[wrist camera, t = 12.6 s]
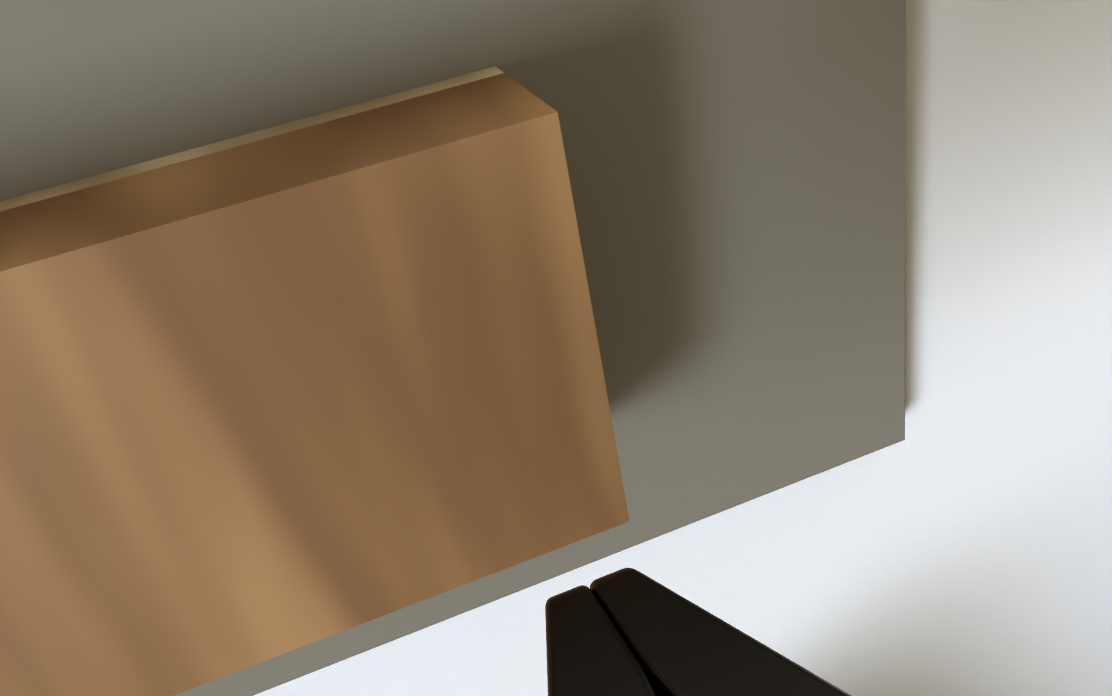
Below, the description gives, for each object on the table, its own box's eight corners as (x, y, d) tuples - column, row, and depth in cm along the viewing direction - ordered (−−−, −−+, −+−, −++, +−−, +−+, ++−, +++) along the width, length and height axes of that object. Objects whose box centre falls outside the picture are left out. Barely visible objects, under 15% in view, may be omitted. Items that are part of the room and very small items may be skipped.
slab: (557, 112, 11) (-346, 370, 9) (629, 521, 14) (-41, 777, 13) (495, 65, 13) (-261, 271, 11) (570, 434, 16) (-16, 644, 15)
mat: (878, -225, 14) (906, -226, 13) (884, 423, 20) (904, 439, 19) (-444, 86, 11) (-473, 100, 10) (22, 757, 16) (18, 787, 16)
